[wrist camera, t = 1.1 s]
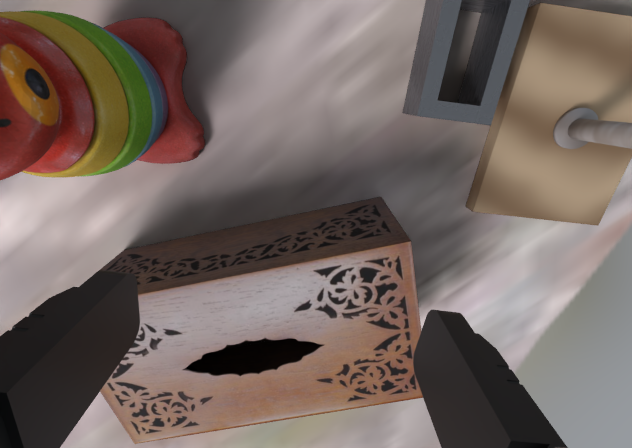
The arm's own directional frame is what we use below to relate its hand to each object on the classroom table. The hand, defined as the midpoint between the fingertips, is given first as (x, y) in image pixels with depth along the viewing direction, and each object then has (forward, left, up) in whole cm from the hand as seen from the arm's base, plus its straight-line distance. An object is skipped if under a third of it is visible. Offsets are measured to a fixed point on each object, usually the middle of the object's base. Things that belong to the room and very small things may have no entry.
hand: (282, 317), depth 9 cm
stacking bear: (-4, -14, -21) cm, 26 cm away
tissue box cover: (+13, -2, -22) cm, 25 cm away
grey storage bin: (-10, +11, -21) cm, 26 cm away
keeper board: (-6, +22, -21) cm, 31 cm away
